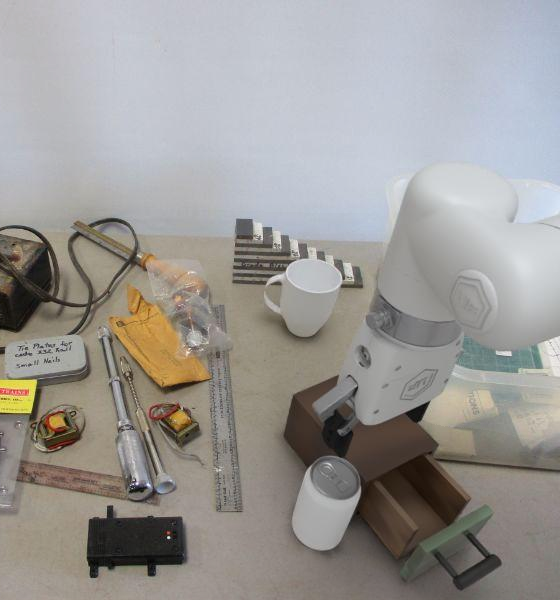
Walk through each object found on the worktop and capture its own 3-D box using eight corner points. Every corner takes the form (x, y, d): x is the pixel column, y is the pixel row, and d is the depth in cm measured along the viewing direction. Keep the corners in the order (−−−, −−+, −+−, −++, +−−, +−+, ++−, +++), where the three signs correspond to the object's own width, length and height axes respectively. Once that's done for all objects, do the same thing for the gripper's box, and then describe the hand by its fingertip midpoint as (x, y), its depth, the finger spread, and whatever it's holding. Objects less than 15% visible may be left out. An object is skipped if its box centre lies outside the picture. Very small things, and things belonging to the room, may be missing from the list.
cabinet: (417, 485, 79) (439, 444, 73) (349, 521, 76) (366, 482, 69) (346, 406, 89) (360, 364, 83) (282, 435, 85) (292, 394, 79)
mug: (329, 315, 104) (343, 261, 96) (326, 350, 97) (341, 297, 89) (263, 303, 106) (271, 250, 98) (256, 337, 100) (264, 284, 92)
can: (315, 494, 78) (333, 443, 70) (353, 532, 74) (376, 482, 66) (280, 521, 76) (294, 470, 68) (317, 562, 72) (337, 514, 64)
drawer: (498, 574, 70) (526, 544, 64) (433, 616, 66) (457, 588, 61) (392, 458, 81) (408, 424, 76) (332, 489, 78) (345, 456, 73)
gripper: (366, 371, 44) (325, 491, 56) (528, 304, 50) (461, 426, 61) (307, 310, 49) (280, 431, 61) (460, 255, 55) (409, 376, 66)
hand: (371, 428), depth 61 cm, fingers open, 9 cm apart
